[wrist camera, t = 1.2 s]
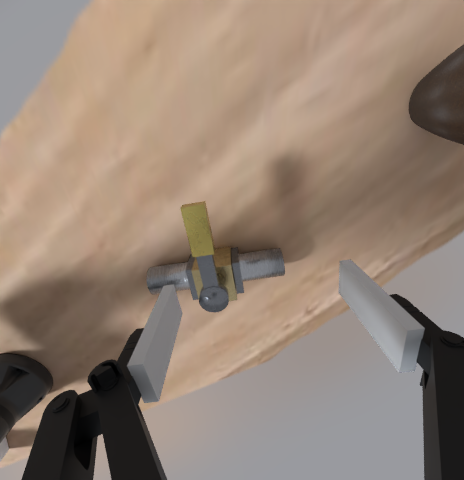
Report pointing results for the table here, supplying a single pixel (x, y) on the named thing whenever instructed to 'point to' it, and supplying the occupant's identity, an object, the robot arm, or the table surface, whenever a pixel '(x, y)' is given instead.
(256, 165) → the table surface
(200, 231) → the lever
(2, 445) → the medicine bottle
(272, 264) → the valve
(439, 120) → the plant pot
